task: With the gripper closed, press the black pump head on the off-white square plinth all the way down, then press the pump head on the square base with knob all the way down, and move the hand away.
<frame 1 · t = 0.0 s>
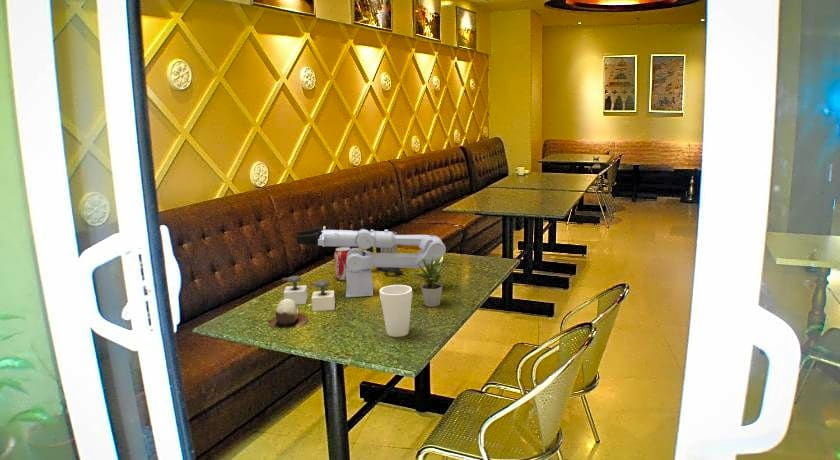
hand: (298, 237, 196), 22 cm above the table, tool horizontal, fingers open, 7 cm apart
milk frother: (390, 271, 230), on the table
skull: (288, 322, 177), on the table
foam cup: (397, 333, 165), on the table
pump a: (321, 289, 188), point 6 cm above the table, slide at 0.0 cm
house plant: (432, 303, 190), on the table
pump b: (293, 284, 195), point 6 cm above the table, slide at 0.0 cm
soda can: (345, 279, 221), on the table
square base with knob: (296, 301, 196), on the table
off-white square plinth: (324, 307, 189), on the table
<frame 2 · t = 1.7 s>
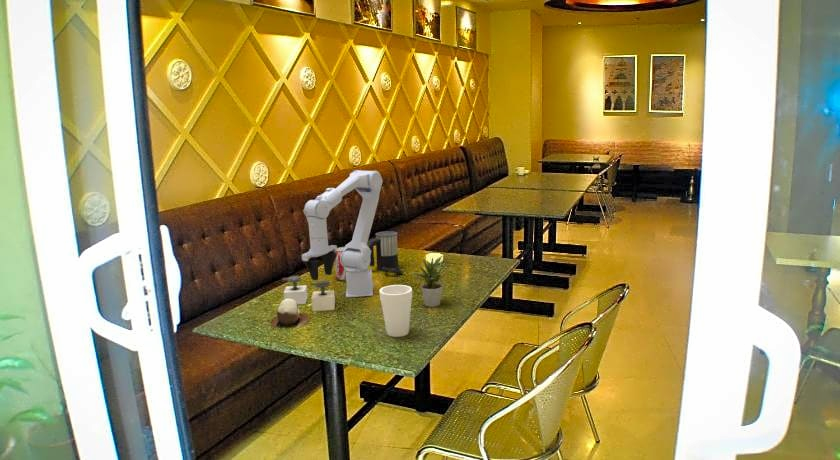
hand: (321, 277, 187), 10 cm above the table, tool pointing down, fingers open, 6 cm apart
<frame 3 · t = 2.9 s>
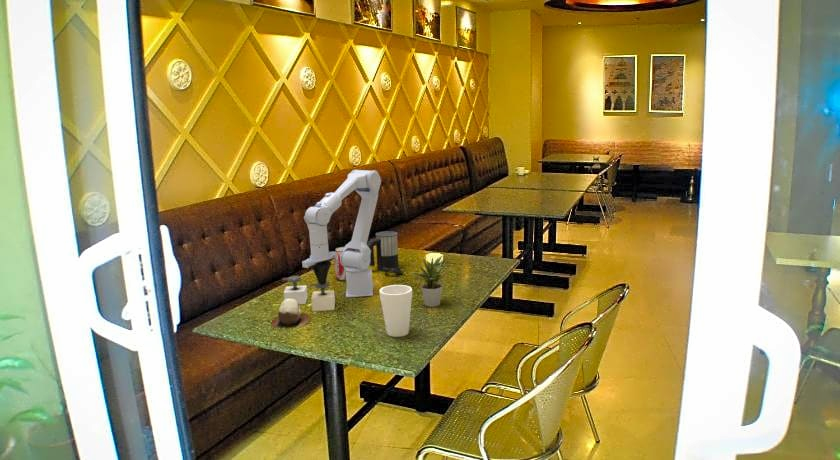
hand: (322, 283, 188), 8 cm above the table, tool pointing down, fingers closed, pressing on pump a
pump a: (321, 289, 188), point 6 cm above the table, slide at 0.3 cm, touching gripper
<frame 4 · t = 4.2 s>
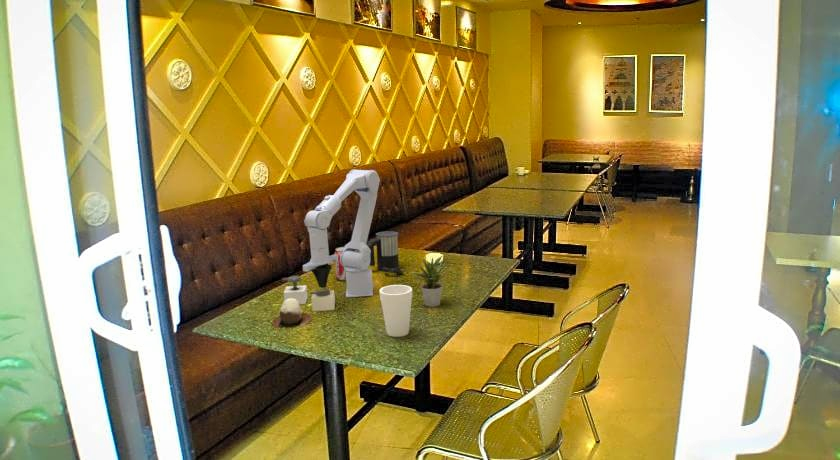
hand: (322, 287, 188), 7 cm above the table, tool pointing down, fingers closed
pump a: (322, 297, 189), point 3 cm above the table, slide at 3.0 cm, touching off-white square plinth
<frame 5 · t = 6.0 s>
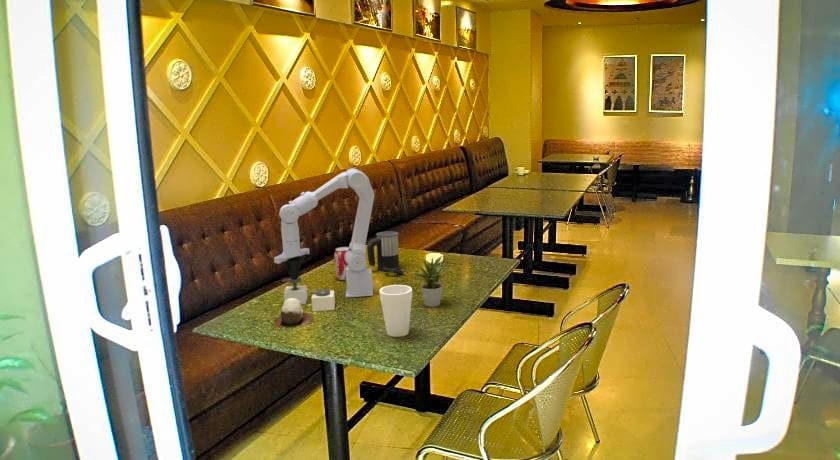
hand: (294, 278, 195), 8 cm above the table, tool pointing down, fingers closed, pressing on pump b
pump b: (293, 285, 195), point 6 cm above the table, slide at 0.4 cm, touching gripper
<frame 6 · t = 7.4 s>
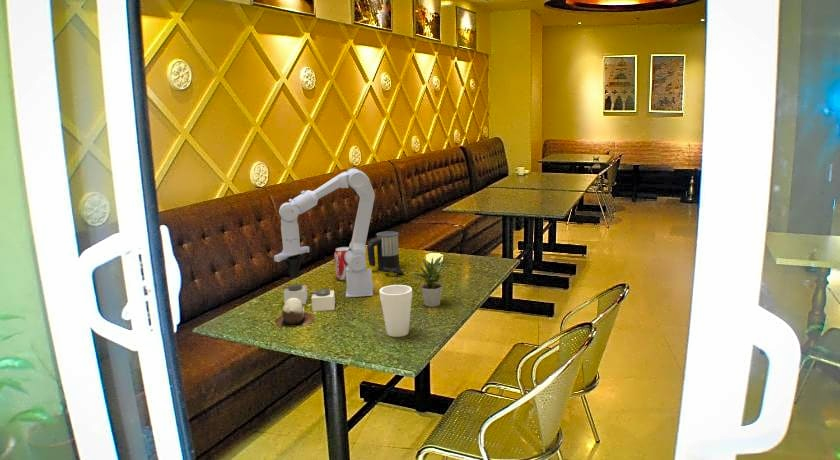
hand: (294, 277, 195), 9 cm above the table, tool pointing down, fingers closed
pump b: (294, 292, 196), point 3 cm above the table, slide at 3.0 cm, touching square base with knob
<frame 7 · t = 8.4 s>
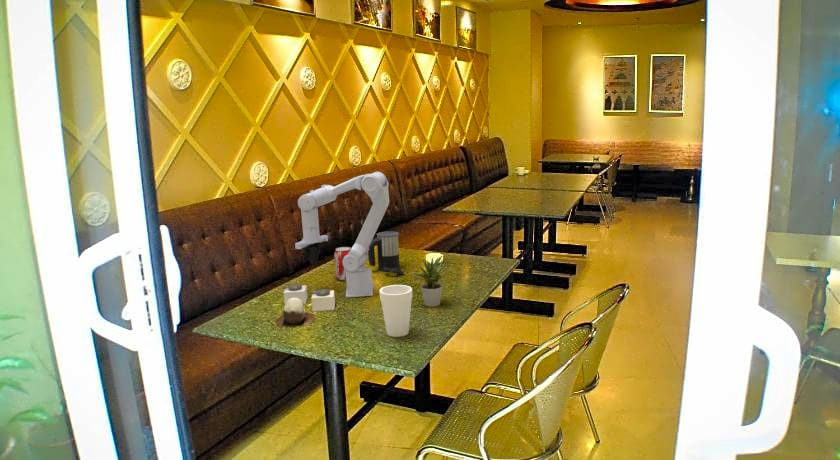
hand: (313, 264, 204), 10 cm above the table, tool pointing down, fingers closed
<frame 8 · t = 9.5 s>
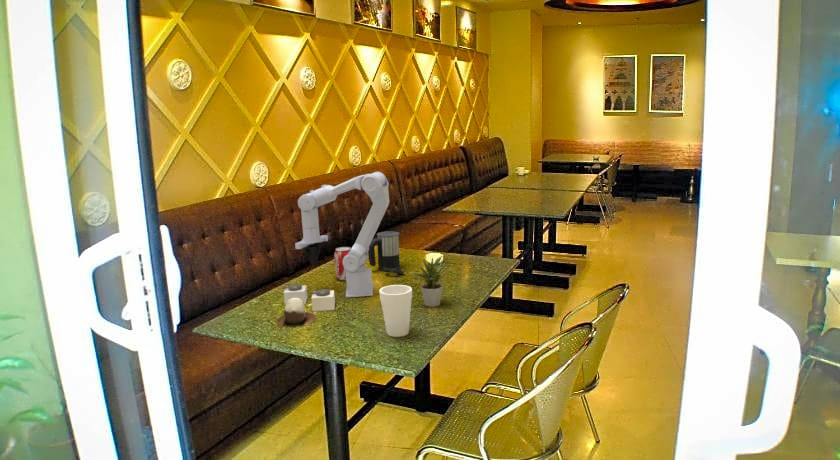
hand: (313, 264, 204), 10 cm above the table, tool pointing down, fingers closed
at the end: pump a slide at 3.0 cm; pump b slide at 3.0 cm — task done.
